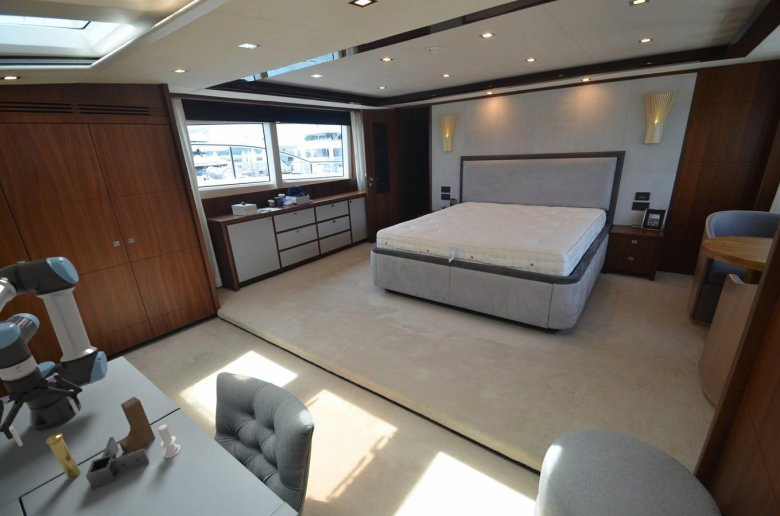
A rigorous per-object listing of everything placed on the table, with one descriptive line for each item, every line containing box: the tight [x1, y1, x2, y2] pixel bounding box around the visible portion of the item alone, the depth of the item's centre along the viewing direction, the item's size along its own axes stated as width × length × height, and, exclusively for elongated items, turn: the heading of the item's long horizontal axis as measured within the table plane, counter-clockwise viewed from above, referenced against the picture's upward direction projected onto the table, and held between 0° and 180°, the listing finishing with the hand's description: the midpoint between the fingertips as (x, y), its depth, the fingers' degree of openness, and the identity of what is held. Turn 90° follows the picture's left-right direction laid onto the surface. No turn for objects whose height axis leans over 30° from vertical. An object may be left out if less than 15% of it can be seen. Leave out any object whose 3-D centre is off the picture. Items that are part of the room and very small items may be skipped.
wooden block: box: [119, 396, 156, 455], centre depth 120 cm, size 9×4×18 cm, turn 148°
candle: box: [158, 423, 182, 459], centre depth 117 cm, size 5×5×12 cm
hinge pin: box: [45, 432, 81, 481], centre depth 110 cm, size 4×4×17 cm
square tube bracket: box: [85, 436, 150, 490], centre depth 116 cm, size 15×15×6 cm
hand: (50, 428), depth 106 cm, fingers open, 13 cm apart
